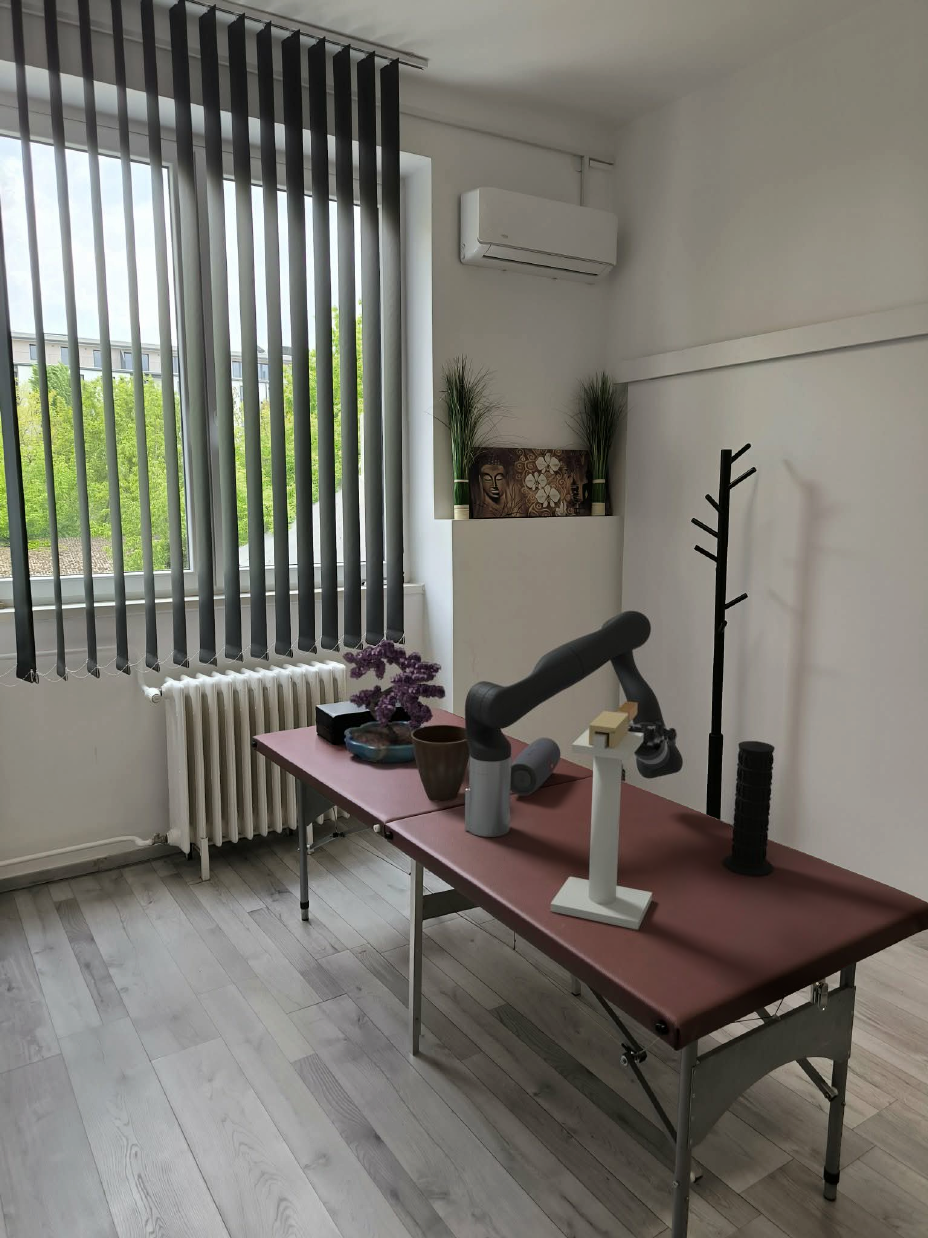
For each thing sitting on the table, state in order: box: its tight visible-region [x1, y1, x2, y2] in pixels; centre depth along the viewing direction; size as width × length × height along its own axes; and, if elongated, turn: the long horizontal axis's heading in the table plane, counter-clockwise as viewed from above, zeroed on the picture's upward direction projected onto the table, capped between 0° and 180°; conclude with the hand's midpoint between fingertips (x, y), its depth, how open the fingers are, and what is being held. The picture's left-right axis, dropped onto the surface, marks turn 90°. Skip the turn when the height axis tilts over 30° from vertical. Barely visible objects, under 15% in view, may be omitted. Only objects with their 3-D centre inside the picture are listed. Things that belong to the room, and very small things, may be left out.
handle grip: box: [722, 740, 776, 878], centre depth 180 cm, size 10×26×10 cm
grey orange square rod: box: [593, 700, 638, 749], centre depth 164 cm, size 2×25×2 cm, turn 157°
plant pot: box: [411, 724, 469, 802], centre depth 218 cm, size 15×15×16 cm
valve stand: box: [550, 710, 653, 931], centre depth 162 cm, size 16×12×36 cm
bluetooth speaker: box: [510, 737, 561, 797], centre depth 227 cm, size 23×9×10 cm, turn 160°
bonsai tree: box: [342, 638, 446, 764], centre depth 247 cm, size 35×27×32 cm
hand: (636, 724), depth 181 cm, fingers open, 8 cm apart
